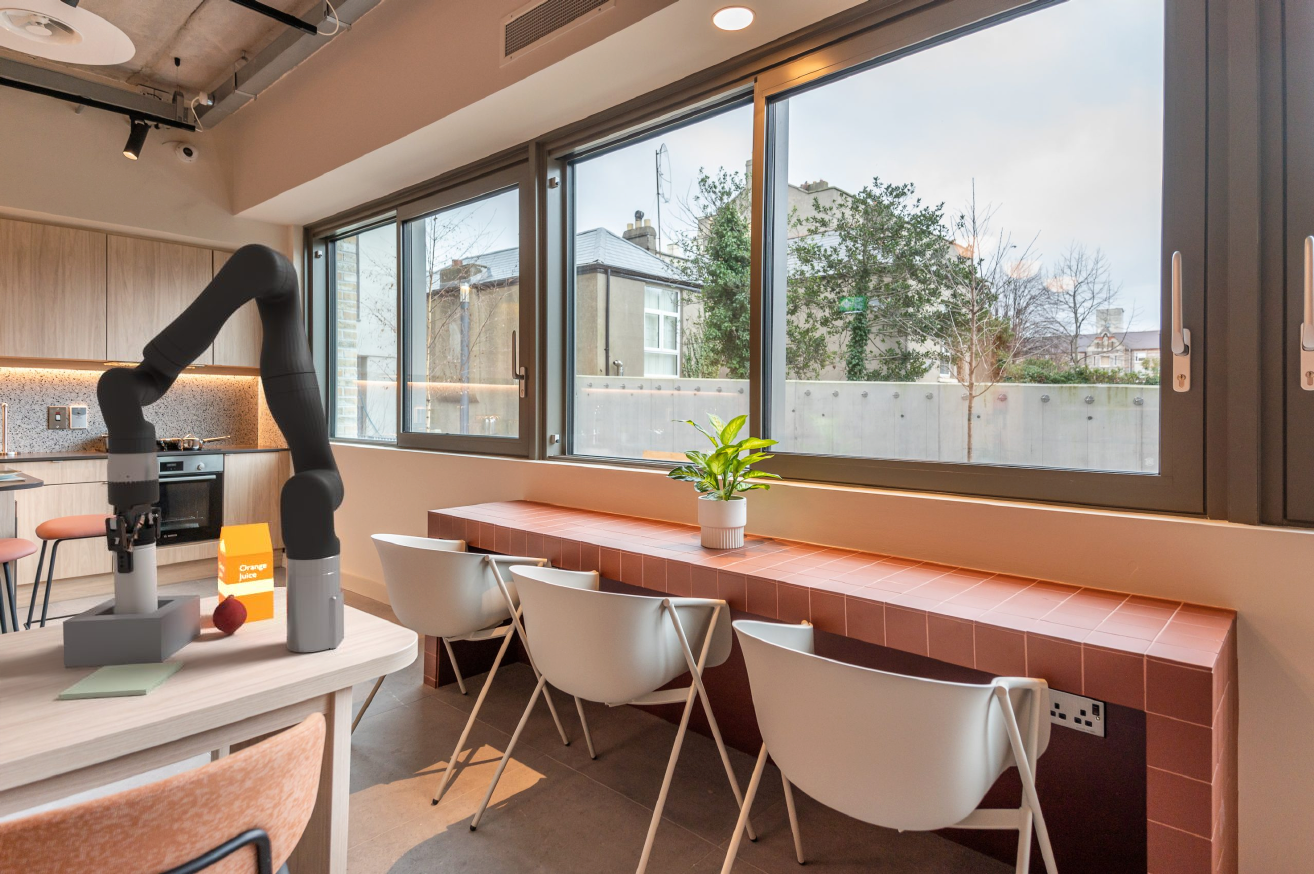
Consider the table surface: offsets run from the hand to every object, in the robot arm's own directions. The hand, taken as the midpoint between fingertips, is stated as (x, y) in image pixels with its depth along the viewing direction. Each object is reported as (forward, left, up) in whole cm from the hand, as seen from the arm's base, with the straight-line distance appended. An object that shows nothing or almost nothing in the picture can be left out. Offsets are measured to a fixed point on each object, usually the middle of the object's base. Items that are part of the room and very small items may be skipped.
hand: (136, 568), depth 127 cm
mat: (-6, +16, -15) cm, 23 cm away
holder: (0, 0, -15) cm, 15 cm away
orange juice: (-12, -18, -16) cm, 27 cm away
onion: (-13, -7, -15) cm, 21 cm away
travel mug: (0, 0, -12) cm, 12 cm away
